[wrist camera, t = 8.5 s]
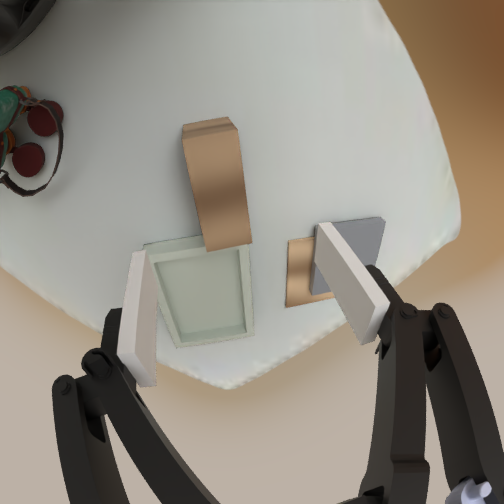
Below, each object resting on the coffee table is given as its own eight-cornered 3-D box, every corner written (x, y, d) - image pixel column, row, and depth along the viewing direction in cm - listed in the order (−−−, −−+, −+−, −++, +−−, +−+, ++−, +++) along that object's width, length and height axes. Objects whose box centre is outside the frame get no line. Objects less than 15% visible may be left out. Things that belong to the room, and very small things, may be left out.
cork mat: (288, 240, 34) (289, 242, 33) (382, 226, 35) (383, 228, 35) (285, 305, 40) (286, 307, 40) (366, 287, 42) (367, 289, 42)
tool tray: (143, 244, 30) (141, 256, 28) (244, 228, 31) (248, 239, 30) (175, 335, 40) (176, 348, 38) (251, 323, 41) (254, 335, 39)
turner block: (183, 124, 24) (181, 140, 19) (227, 116, 24) (237, 129, 19) (202, 218, 30) (206, 252, 25) (240, 210, 30) (252, 243, 26)
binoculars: (20, 247, 17) (-68, 200, 11) (55, 184, 24) (-15, 149, 18) (55, 142, 13) (-49, 91, 8) (91, 108, 21) (14, 70, 15)
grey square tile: (319, 231, 31) (312, 295, 37) (385, 221, 33) (370, 282, 39) (314, 225, 33) (308, 288, 39) (380, 216, 34) (366, 276, 40)
